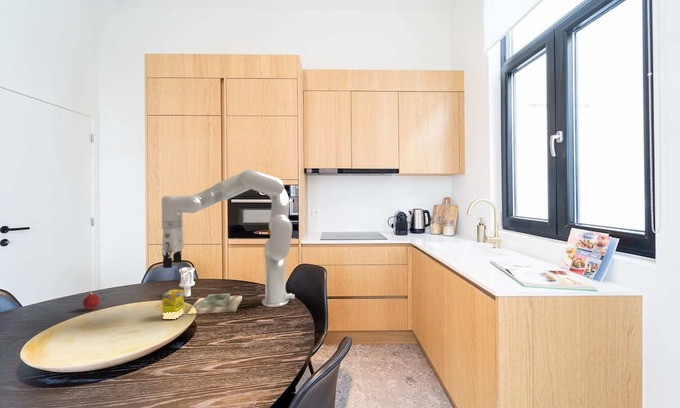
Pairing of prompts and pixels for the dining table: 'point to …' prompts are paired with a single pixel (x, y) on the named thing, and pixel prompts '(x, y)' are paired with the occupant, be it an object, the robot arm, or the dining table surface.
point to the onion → (91, 301)
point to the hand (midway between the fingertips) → (172, 265)
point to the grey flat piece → (217, 303)
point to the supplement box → (172, 301)
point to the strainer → (186, 280)
